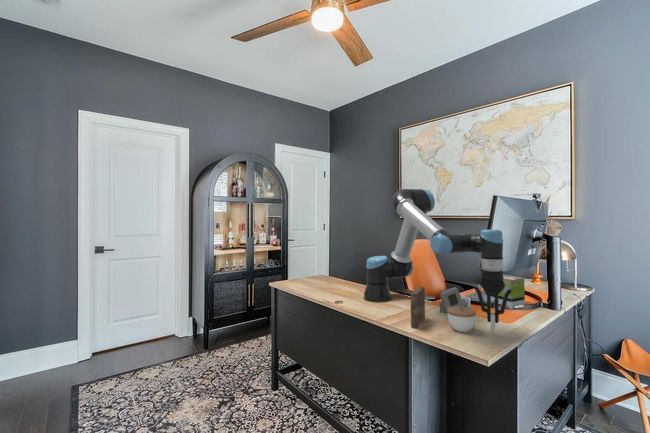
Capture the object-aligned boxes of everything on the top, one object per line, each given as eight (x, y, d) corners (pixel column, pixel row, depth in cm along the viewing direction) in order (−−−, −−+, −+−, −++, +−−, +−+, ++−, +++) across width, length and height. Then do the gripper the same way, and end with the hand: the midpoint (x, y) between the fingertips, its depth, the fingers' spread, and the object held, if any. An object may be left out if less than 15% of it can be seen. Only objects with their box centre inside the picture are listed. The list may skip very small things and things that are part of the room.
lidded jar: (481, 330, 124) (481, 307, 124) (465, 336, 118) (465, 311, 118) (457, 323, 133) (457, 301, 133) (441, 328, 127) (441, 305, 127)
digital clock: (449, 317, 140) (448, 294, 140) (432, 312, 148) (432, 290, 148) (470, 311, 149) (470, 289, 149) (453, 306, 157) (453, 285, 157)
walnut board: (411, 327, 128) (410, 293, 128) (419, 317, 141) (418, 286, 141) (417, 328, 127) (416, 294, 127) (425, 317, 140) (424, 286, 140)
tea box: (484, 302, 164) (484, 274, 164) (498, 299, 168) (497, 272, 168) (511, 309, 151) (511, 279, 151) (525, 307, 154) (525, 277, 155)
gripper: (472, 269, 120) (473, 331, 120) (512, 272, 113) (513, 337, 113) (474, 267, 126) (475, 325, 126) (511, 269, 120) (512, 330, 120)
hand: (493, 330), depth 120 cm, fingers closed
